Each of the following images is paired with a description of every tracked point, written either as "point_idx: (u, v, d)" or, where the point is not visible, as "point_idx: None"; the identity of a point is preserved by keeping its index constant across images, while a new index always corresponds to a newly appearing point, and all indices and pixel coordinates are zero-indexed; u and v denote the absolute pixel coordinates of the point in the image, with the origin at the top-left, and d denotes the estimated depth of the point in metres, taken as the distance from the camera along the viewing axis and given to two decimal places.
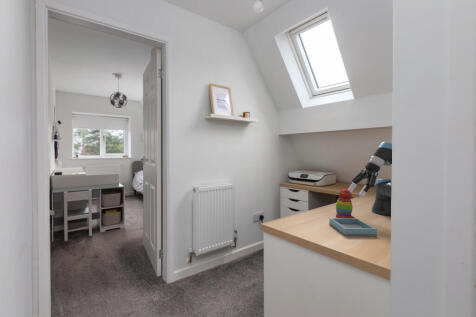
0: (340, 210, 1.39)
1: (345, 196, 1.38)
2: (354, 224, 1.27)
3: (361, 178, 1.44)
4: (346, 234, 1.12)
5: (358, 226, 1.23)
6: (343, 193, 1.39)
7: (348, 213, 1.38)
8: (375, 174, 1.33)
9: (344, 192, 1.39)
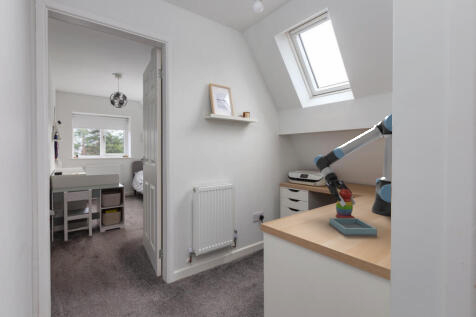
0: (340, 210, 1.39)
1: (345, 196, 1.38)
2: (354, 224, 1.27)
3: (341, 188, 1.47)
4: (346, 234, 1.12)
5: (358, 226, 1.23)
6: (343, 193, 1.39)
7: (348, 213, 1.38)
8: (327, 184, 1.45)
9: (344, 192, 1.39)
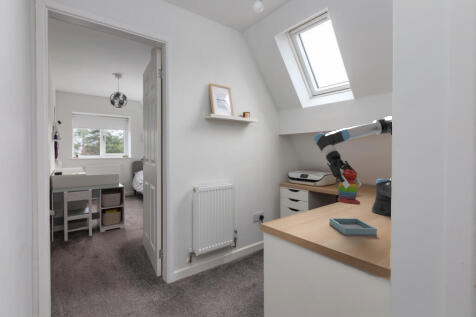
0: (343, 193, 1.21)
1: (349, 177, 1.20)
2: (354, 224, 1.27)
3: (345, 168, 1.28)
4: (346, 234, 1.12)
5: (358, 226, 1.23)
6: (347, 173, 1.21)
7: (352, 196, 1.20)
8: (329, 164, 1.27)
9: (348, 172, 1.21)
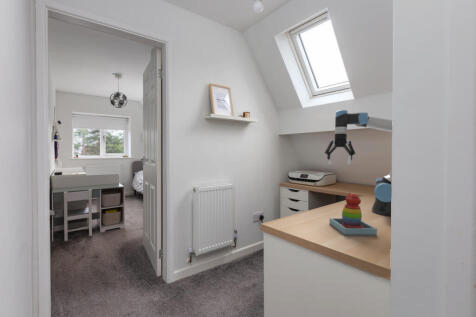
0: (347, 219, 1.18)
1: (353, 202, 1.17)
2: None
3: (345, 148, 1.57)
4: (346, 234, 1.12)
5: None
6: (351, 199, 1.18)
7: (357, 222, 1.17)
8: (330, 142, 1.57)
9: (352, 198, 1.18)
